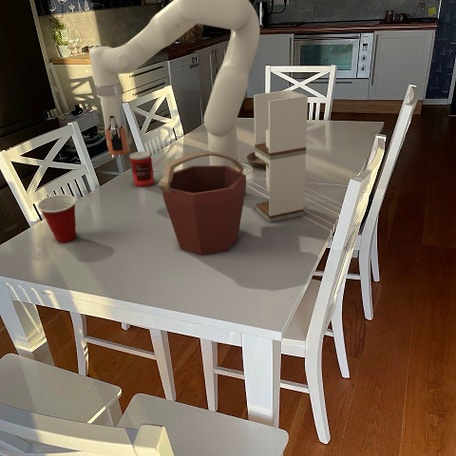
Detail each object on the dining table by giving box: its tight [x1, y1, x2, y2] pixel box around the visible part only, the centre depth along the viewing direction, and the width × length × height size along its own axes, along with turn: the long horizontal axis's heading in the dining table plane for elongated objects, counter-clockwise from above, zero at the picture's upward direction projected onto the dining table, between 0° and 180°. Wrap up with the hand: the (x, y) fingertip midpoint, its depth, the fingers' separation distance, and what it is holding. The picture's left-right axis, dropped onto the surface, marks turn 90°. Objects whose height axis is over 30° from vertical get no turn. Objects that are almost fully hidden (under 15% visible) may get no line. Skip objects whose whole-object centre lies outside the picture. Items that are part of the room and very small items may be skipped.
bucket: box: [157, 150, 247, 256], centre depth 131 cm, size 24×22×25 cm
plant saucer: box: [246, 151, 266, 169], centre depth 191 cm, size 18×18×3 cm
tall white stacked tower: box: [253, 89, 309, 223], centre depth 142 cm, size 11×11×35 cm
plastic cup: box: [36, 193, 77, 244], centre depth 140 cm, size 11×11×12 cm
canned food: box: [129, 150, 155, 188], centre depth 177 cm, size 8×8×11 cm
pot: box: [104, 124, 130, 156], centre depth 159 cm, size 7×7×8 cm
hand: (118, 146), depth 160 cm, fingers closed on pot, 6 cm apart
